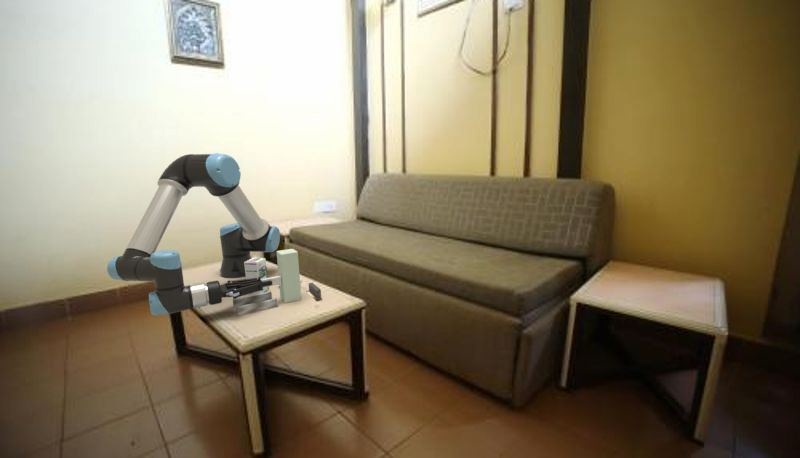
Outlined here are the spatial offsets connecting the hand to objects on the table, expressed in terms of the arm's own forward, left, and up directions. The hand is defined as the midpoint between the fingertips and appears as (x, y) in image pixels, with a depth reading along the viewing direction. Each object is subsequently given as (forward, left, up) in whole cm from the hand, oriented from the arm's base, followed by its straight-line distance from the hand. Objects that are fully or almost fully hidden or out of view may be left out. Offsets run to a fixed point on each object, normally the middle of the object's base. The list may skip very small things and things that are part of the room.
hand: (280, 279), depth 131 cm
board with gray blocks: (+1, -1, -9) cm, 10 cm away
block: (-3, +1, -8) cm, 9 cm away
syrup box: (-3, -15, -10) cm, 18 cm away
